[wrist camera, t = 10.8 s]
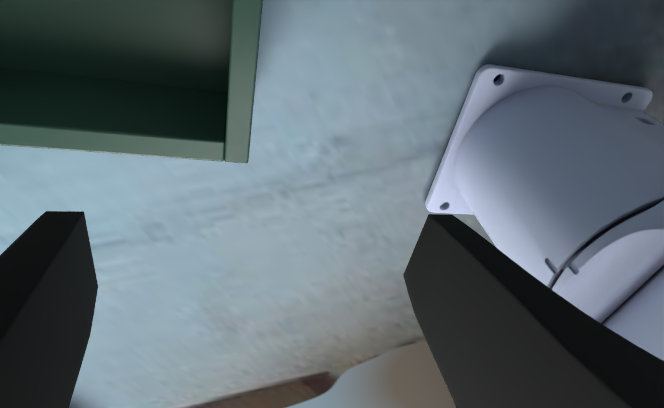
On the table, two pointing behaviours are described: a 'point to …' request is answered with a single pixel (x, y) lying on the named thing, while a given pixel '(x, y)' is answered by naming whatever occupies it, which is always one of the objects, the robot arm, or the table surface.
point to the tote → (130, 76)
